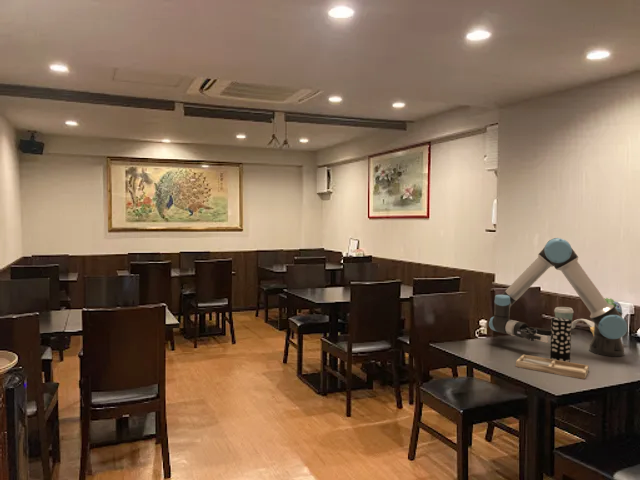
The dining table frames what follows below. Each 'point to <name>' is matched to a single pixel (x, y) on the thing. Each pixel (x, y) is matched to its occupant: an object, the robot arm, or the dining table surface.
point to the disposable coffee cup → (564, 312)
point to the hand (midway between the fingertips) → (556, 338)
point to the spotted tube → (560, 339)
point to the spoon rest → (589, 323)
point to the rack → (553, 366)
